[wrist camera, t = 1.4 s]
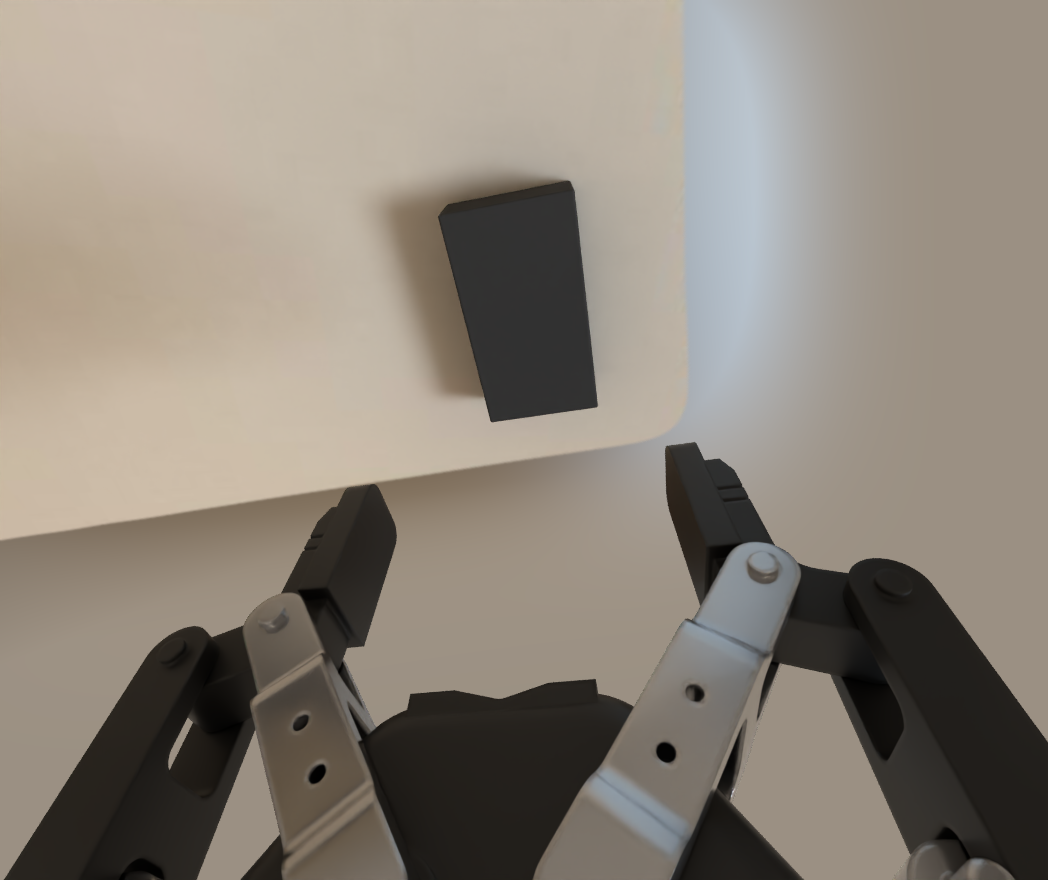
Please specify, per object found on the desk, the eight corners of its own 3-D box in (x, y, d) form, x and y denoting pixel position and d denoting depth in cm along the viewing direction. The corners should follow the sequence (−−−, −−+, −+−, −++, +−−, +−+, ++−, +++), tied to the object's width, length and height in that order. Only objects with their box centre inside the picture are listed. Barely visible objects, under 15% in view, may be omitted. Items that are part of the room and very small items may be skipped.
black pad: (446, 204, 22) (437, 215, 20) (570, 180, 21) (574, 189, 19) (494, 398, 27) (490, 423, 25) (593, 384, 27) (598, 407, 25)
